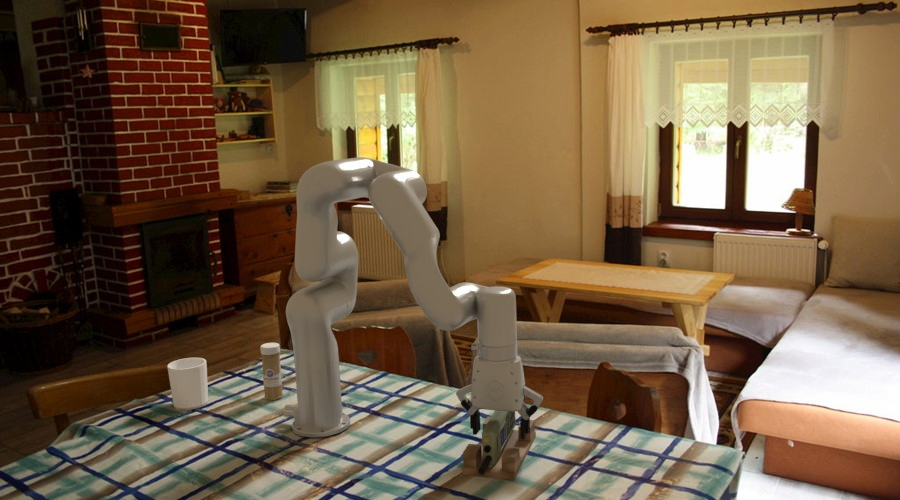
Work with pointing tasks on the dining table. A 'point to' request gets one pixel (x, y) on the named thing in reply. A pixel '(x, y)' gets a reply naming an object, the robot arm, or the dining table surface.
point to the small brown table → (508, 458)
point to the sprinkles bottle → (271, 371)
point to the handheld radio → (496, 437)
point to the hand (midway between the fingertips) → (500, 434)
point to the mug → (188, 383)
